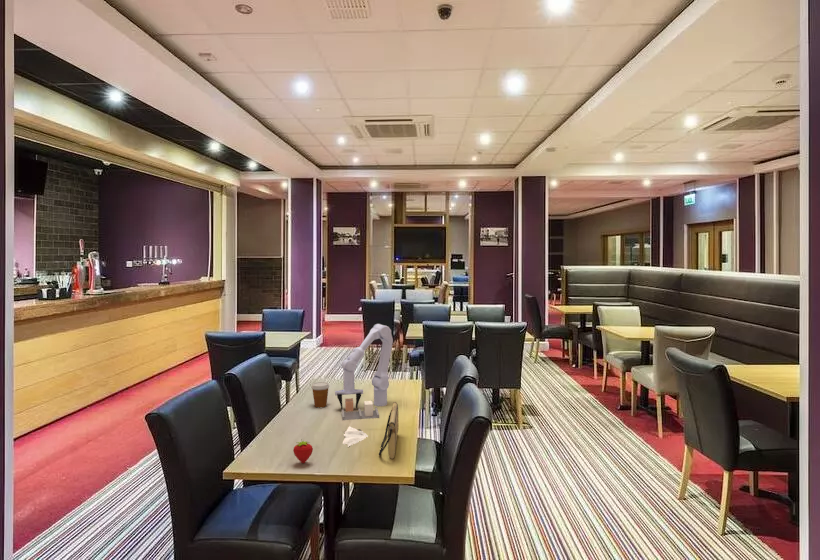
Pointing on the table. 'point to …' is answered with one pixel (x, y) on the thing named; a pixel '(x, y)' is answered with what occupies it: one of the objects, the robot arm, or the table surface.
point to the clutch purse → (391, 432)
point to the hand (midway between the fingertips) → (349, 408)
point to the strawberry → (302, 451)
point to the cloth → (353, 436)
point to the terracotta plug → (349, 404)
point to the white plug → (368, 408)
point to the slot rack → (358, 415)
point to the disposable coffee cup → (320, 393)
